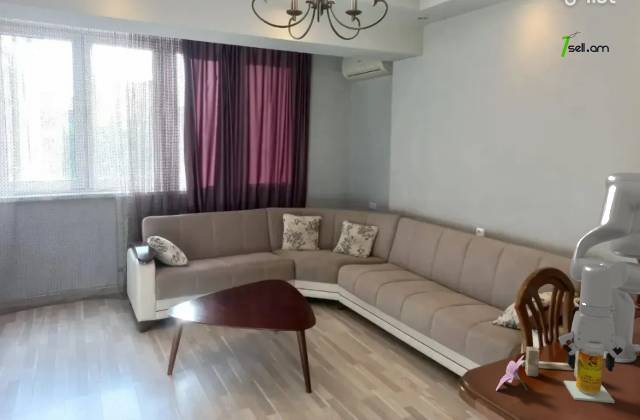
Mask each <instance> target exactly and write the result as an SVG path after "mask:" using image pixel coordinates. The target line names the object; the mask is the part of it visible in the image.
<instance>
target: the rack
mask: <svg viewBox="0 0 640 420" xmlns="http://www.w3.org/2000/svg"><path fill="white" fill-rule="evenodd" d="M525 351H526V352H525V359H522V360H521V361H524V362H523V363H522V364H521V366H522V367H524V368H525V369H524V370H525V373H526V376H527V377H536V376H537V377H539V369H550V370H551V369H552V370H561V371H562V370H564V371H574V372H573V376H574V377H575V379H576V380H577V368H578V355H579V350H578V351H577V352H576V353H575V354H574V355H575V356H576V360H575V369H572V368H571V367H570V365H569V364H568V363H567V362H555V361H554V362H553V361H542V360H541V361H540V350H539V348H538V347H537V346H526V349H525Z"/></svg>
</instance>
